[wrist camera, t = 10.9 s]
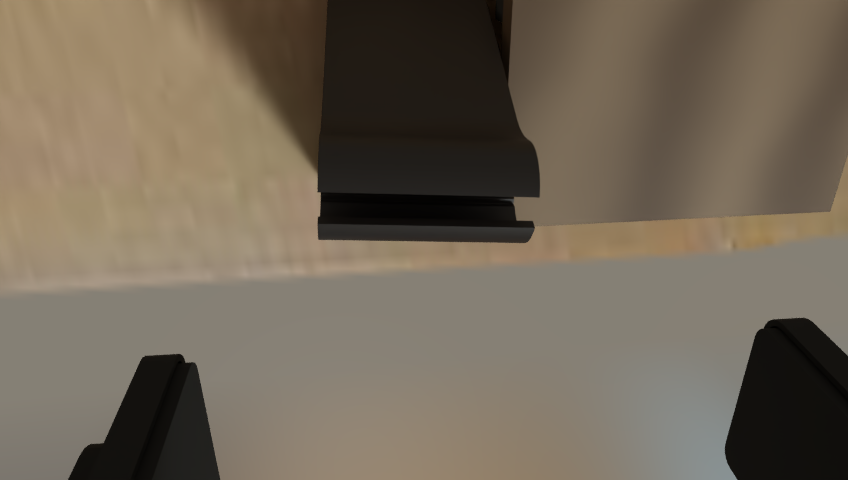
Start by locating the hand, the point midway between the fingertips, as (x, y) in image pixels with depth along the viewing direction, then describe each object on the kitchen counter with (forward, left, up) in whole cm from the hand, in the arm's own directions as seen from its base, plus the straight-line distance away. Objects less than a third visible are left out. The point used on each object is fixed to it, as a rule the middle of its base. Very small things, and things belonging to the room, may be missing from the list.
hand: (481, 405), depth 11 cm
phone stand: (0, 0, -20) cm, 20 cm away
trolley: (-11, 0, -20) cm, 22 cm away
